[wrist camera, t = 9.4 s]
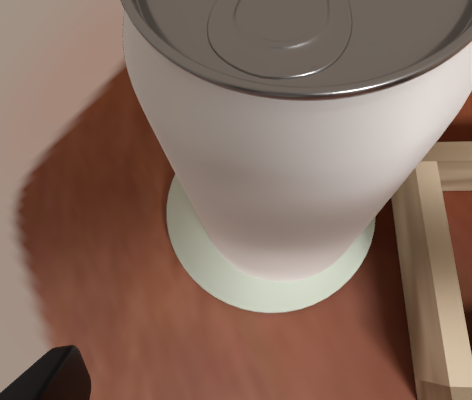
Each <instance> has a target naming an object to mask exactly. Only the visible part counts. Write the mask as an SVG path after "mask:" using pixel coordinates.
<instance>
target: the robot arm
mask: <svg viewBox="0 0 472 400" xmlns="http://www.w3.org/2000/svg"><path fill="white" fill-rule="evenodd" d="M90 393H91V379H90V375H89V373H88V370H87V368H86V366H85V363H84V361H83V358H82V356H81V353H80V351H79V349H78V348H77V347H76V346H74V345H68V346H62V347H56V348H53V349H51V350H49V351H48V352H47V353H46V354H45V355H43V356H42V357H41V358H40V359H39V360H38V361H37V362H35V363H34V364H33V365H32V366H31V367H30V368H29V369H28V370H26V371H25V372H24V373H23V374H22V375H20V376H19V377H18V378H17V379H16V380H15V381H14V382H12V383H11V384H10V385H9V386H8V387H7V388H5V390H3V391H2V392H1V393H0V400H89V399H90Z"/></svg>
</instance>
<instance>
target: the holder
mask: <svg viewBox="0 0 472 400" xmlns="http://www.w3.org/2000/svg"><path fill="white" fill-rule="evenodd" d="M442 191H472V141H468V142H436V143H435V144H434V145H433V147H432V148H431V149H430V150H429V152H428V153H427V154H426V155H425V157H424V158H423V159H422V160H421V162H420V163H419V164H418V165H417V166H416V168H415V169H414V170H413V171H412V172H411V174H410V175H409V176H408V177H407V179H406V180H405V181H404V182H403V183H402V185H401V186H400V187H399V188H398V190H397V191H396V192H395V193H394V194H393V196H392V197H391V200H392V208H393V216H394V223H395V231H396V239H397V246H398V254H399V262H400V269H401V277H402V285H403V292H404V300H405V308H406V315H407V323H408V331H409V338H410V346H411V354H412V361H413V369H414V377H415V384H416V392H417V400H472V354H471V349H470V343H469V338H468V332H467V327H466V321H465V316H464V310H463V304H462V299H461V293H460V288H459V282H458V277H457V271H456V266H455V260H454V255H453V249H452V244H451V238H450V232H449V227H448V221H447V216H446V210H445V205H444V199H443V194H442Z"/></svg>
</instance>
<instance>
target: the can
mask: <svg viewBox="0 0 472 400" xmlns="http://www.w3.org/2000/svg"><path fill="white" fill-rule="evenodd" d="M121 2H122V5H123V7H124V9H125V12H124V22H123V50H124V58H125V63H126V67H127V71H128V74H129V77H130V80H131V83H132V86H133V89H134V91H135V94H136V96H137V98H138V100H139V103H140V105H141V107H142V109H143V111H144V113H145V115H146V118H147V119H148V121H149V123H150V125H151V127H152V129H153V131H154V133H155V135H156V137H157V139H158V141H159V143H160V145H161V147H162V149H163V151H164V153H165V155H166V157H167V158H168V160H169V162H170V164H171V166H172V168H173V170H174V172H175V174H176V176H177V178H178V180H179V181H180V183H181V185H182V187H183V189H184V191H185V193H186V195H187V197H188V199H189V200H190V202H191V204H192V206H193V208H194V210H195V212H196V214H197V216H198V217H199V219H200V221H201V223H202V225H203V227H204V229H205V230H206V232H207V234H208V236H209V238H210V239H211V241H212V243H213V244H214V246H215V247H216V249H217V250H218V251H219V253H220V254H221V255H222V256H223V257H224V258H225V259H226V260H227V261H228V262H229V263H230V264H231V265H232V266H233V267H235V268H236V269H237V270H239V271H240V272H242V273H244V274H246V275H248V276H251V277H254V278H257V279H261V280H267V281H276V282H291V281H299V280H303V279H306V278H309V277H312V276H314V275H317V274H319V273H320V272H322V271H324V270H325V269H327V268H328V267H330V266H331V265H332V264H334V263H335V262H336V261H337V260H338V259H339V258H340V257H341V256H342V255H343V254H344V253H345V252H346V250H347V249H348V248H349V247H350V246H351V245H352V243H353V242H354V241H355V240H356V239H357V238H358V236H359V235H360V234H361V233H362V232H363V230H364V229H365V228H366V227H367V226H368V224H369V223H370V222H371V221H372V220H373V218H374V217H375V216H376V215H377V214H378V212H379V211H380V210H381V209H382V208H383V206H384V205H385V204H386V203H387V202H388V200H389V199H390V198H391V197H392V196H393V194H394V193H395V192H396V191H397V190H398V188H399V187H400V186H401V185H402V183H403V182H404V181H405V180H406V179H407V177H408V176H409V175H410V174H411V172H412V171H413V170H414V169H415V168H416V166H417V165H418V164H419V163H420V162H421V160H422V159H423V158H424V157H425V155H426V154H427V153H428V152H429V150H430V149H431V148H432V147H433V145H434V144H435V143H436V142H437V140H438V139H439V138H440V137H441V135H442V134H443V133H444V131H445V130H446V129H447V127H448V126H449V125H450V123H451V122H452V121H453V119H454V118H455V117H456V115H457V114H458V112H459V111H460V109H461V108H462V106H463V105H464V103H465V101H466V99H467V98H468V96H469V94H470V92H471V91H472V0H121Z"/></svg>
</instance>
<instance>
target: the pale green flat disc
mask: <svg viewBox="0 0 472 400" xmlns="http://www.w3.org/2000/svg"><path fill="white" fill-rule="evenodd" d="M375 219H376V216H375V217H374V218H373V220H372V221H371V222H370V223H369V224H368V226H367V227H366V228H365V229H364V230H363V232H362V233H361V234H360V235H359V236H358V238H357V239H356V240H355V241H354V242H353V243H352V245H351V246H350V247H349V248H348V249H347V250H346V252H345V253H344V254H343V255H342V256H341V257H340V258H339V259H338V260H337V261H336V262H335V263H334V264H332V265H331V266H330V267H328V268H327V269H325V270H324V271H322V272H320V273H319V274H317V275H314V276H312V277H309V278H306V279H303V280H299V281H291V282H276V281H267V280H261V279H257V278H254V277H251V276H248V275H246V274H244V273H242V272H240V271H239V270H237V269H236V268H235V267H233V266H232V265H231V264H230V263H229V262H228V261H227V260H226V259H225V258H224V257H223V256H222V255H221V254H220V253H219V251H218V250H217V249H216V247H215V246H214V244H213V243H212V241H211V239H210V238H209V236H208V234H207V232H206V230H205V229H204V227H203V225H202V223H201V221H200V219H199V217H198V216H197V214H196V212H195V210H194V208H193V206H192V204H191V202H190V200H189V199H188V197H187V195H186V193H185V191H184V189H183V187H182V185H181V183H180V181H179V180H178V178H177V176H176V174H175V176H174V178H173V180H172V183H171V187H170V190H169V194H168V200H167V226H168V233H169V236H170V240H171V244H172V246H173V248H174V251H175V253H176V256H177V257H178V259H179V261H180V262H181V264H182V266H183V267H184V269H185V270H186V271H187V272H188V274H189V275H190V276H191V277H192V279H194V280H195V281H196V282H197V283H198V284H199V285H200V286H201V287H202V288H203V289H204V290H205V291H207V292H208V293H210V294H211V295H212V296H214V297H215V298H217V299H219V300H221V301H223V302H225V303H226V304H228V305H231V306H234V307H237V308H239V309H242V310H247V311H252V312H257V313H269V314H271V313H286V312H291V311H296V310H300V309H303V308H306V307H309V306H312V305H314V304H316V303H318V302H320V301H322V300H324V299H326V298H327V297H329V296H330V295H332V294H333V293H334V292H336V291H337V290H339V289H340V288H341V287H342V286H343V285H344V284H345V283H346V282H347V281H348V280H349V279H350V278H351V277H352V276H353V275H354V273H355V272H356V271H357V270H358V268H359V267H360V265H361V263H362V262H363V260H364V258H365V257H366V255H367V252H368V250H369V247H370V245H371V242H372V238H373V234H374V229H375Z"/></svg>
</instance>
